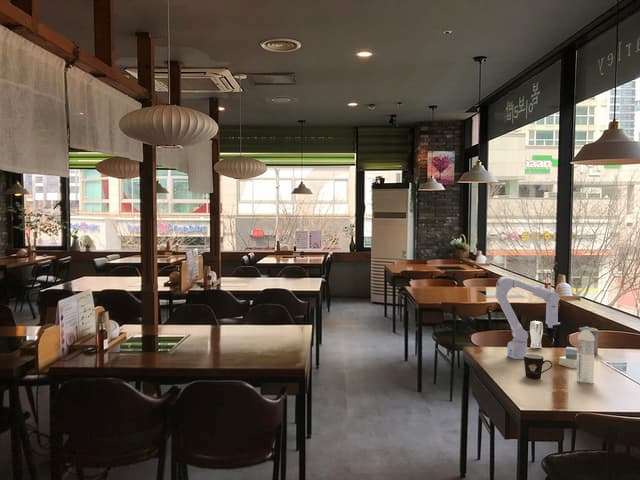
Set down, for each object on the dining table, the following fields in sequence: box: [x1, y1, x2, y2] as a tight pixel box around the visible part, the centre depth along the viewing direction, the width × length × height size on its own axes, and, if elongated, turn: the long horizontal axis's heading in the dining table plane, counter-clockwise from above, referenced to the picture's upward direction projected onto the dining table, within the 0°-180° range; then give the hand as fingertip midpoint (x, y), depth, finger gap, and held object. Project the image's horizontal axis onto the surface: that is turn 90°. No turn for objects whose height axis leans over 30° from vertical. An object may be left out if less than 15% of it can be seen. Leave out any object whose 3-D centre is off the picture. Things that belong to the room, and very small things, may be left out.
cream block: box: [558, 355, 577, 369], centre depth 263 cm, size 8×8×4 cm
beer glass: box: [529, 320, 544, 349], centre depth 302 cm, size 7×7×15 cm
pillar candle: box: [578, 326, 599, 356], centre depth 289 cm, size 10×10×15 cm
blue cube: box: [565, 346, 578, 360], centre depth 263 cm, size 5×5×5 cm
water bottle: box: [576, 326, 595, 385], centre depth 234 cm, size 7×7×25 cm
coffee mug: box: [523, 353, 553, 381], centre depth 239 cm, size 12×9×10 cm
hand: (551, 339), depth 276 cm, fingers open, 7 cm apart
